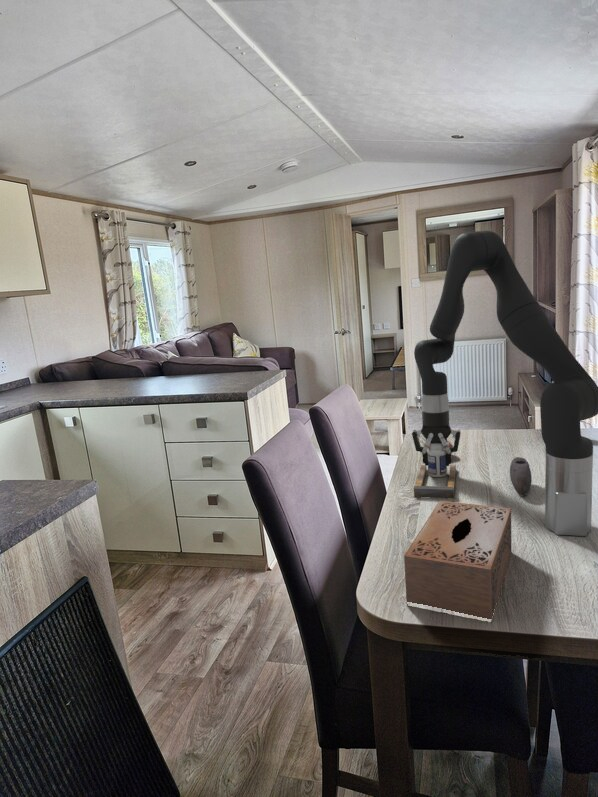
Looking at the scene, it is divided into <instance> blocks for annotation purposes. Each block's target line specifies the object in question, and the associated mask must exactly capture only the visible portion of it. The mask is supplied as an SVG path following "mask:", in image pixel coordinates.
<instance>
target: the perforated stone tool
mask: <svg viewBox="0 0 598 797" xmlns="http://www.w3.org/2000/svg"><path fill="white" fill-rule="evenodd" d="M509 477H510V481H511V484H512V487H513V488H514V490H515V492H516V493H517V494H518V495H519V496H520V497H521V496H522V497H524V496H526V495H528V494H529V493H530V491H531V488H532V481H533V478H532V471H531V468H530V464H529V462H528V460H527V459H526V458H524V457H520V456H517V457H514V458H513V459H512V460H511V463H510V465H509Z"/></svg>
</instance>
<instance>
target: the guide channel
mask: <svg viewBox="0 0 598 797" xmlns="http://www.w3.org/2000/svg"><path fill="white" fill-rule="evenodd" d="M456 466H457V465H454V464H453V465H451V464H449V472H448V473H449V474H448V481H447V486H444V485H443V486H437V485H436V486H435V485H424V482H425V478H426V473H427V466H425V464H420V468H419V471H418V475H417V476H418V477H417V480H416V481H415V485H414V486H413V497H414V498H420V497H430V498H429V499H448V498H453V499H454V493H455V482H456V481H455V480H456V472H457V470H456Z"/></svg>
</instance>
